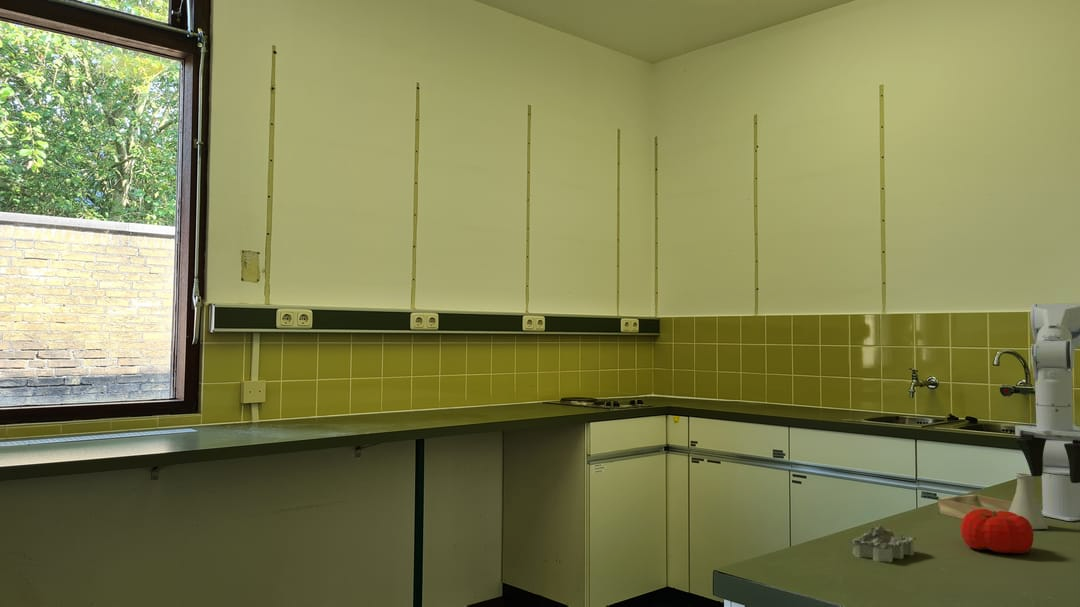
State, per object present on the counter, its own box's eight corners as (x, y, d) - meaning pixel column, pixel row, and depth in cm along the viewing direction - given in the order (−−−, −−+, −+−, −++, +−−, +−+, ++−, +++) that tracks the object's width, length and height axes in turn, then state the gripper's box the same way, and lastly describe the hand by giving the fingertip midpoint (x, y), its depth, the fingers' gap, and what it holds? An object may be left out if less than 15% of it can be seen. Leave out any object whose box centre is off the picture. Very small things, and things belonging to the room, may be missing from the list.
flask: (1035, 522, 159) (1034, 471, 159) (1056, 531, 151) (1055, 477, 152) (997, 521, 159) (996, 471, 160) (1016, 530, 152) (1015, 476, 152)
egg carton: (881, 546, 142) (881, 523, 142) (922, 556, 136) (921, 531, 136) (844, 555, 136) (843, 531, 136) (884, 565, 130) (884, 539, 130)
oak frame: (976, 508, 172) (975, 494, 172) (1025, 519, 161) (1024, 504, 162) (937, 513, 167) (937, 498, 168) (985, 524, 157) (985, 508, 157)
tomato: (960, 540, 145) (959, 504, 145) (1031, 547, 140) (1029, 509, 140) (962, 553, 136) (960, 514, 136) (1037, 561, 131) (1036, 520, 131)
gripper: (1002, 403, 154) (1005, 474, 153) (1077, 409, 141) (1080, 487, 140) (1028, 402, 157) (1031, 472, 156) (1104, 407, 143) (1107, 484, 143)
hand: (1056, 479), depth 148 cm, fingers open, 7 cm apart
